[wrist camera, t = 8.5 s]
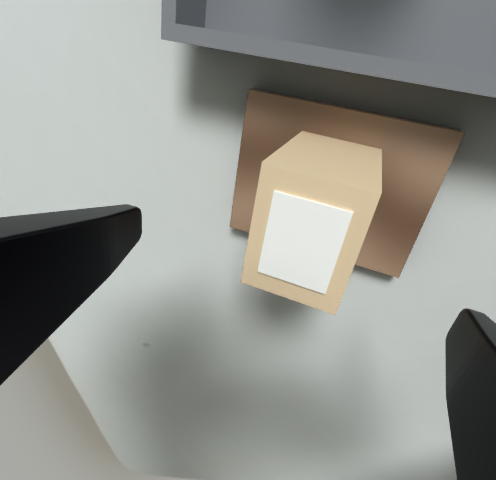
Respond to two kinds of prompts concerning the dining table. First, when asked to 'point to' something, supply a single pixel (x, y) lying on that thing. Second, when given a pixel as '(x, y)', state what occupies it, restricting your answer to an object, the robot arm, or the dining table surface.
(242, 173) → the board
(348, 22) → the bin
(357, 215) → the carton tan
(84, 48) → the dining table surface
